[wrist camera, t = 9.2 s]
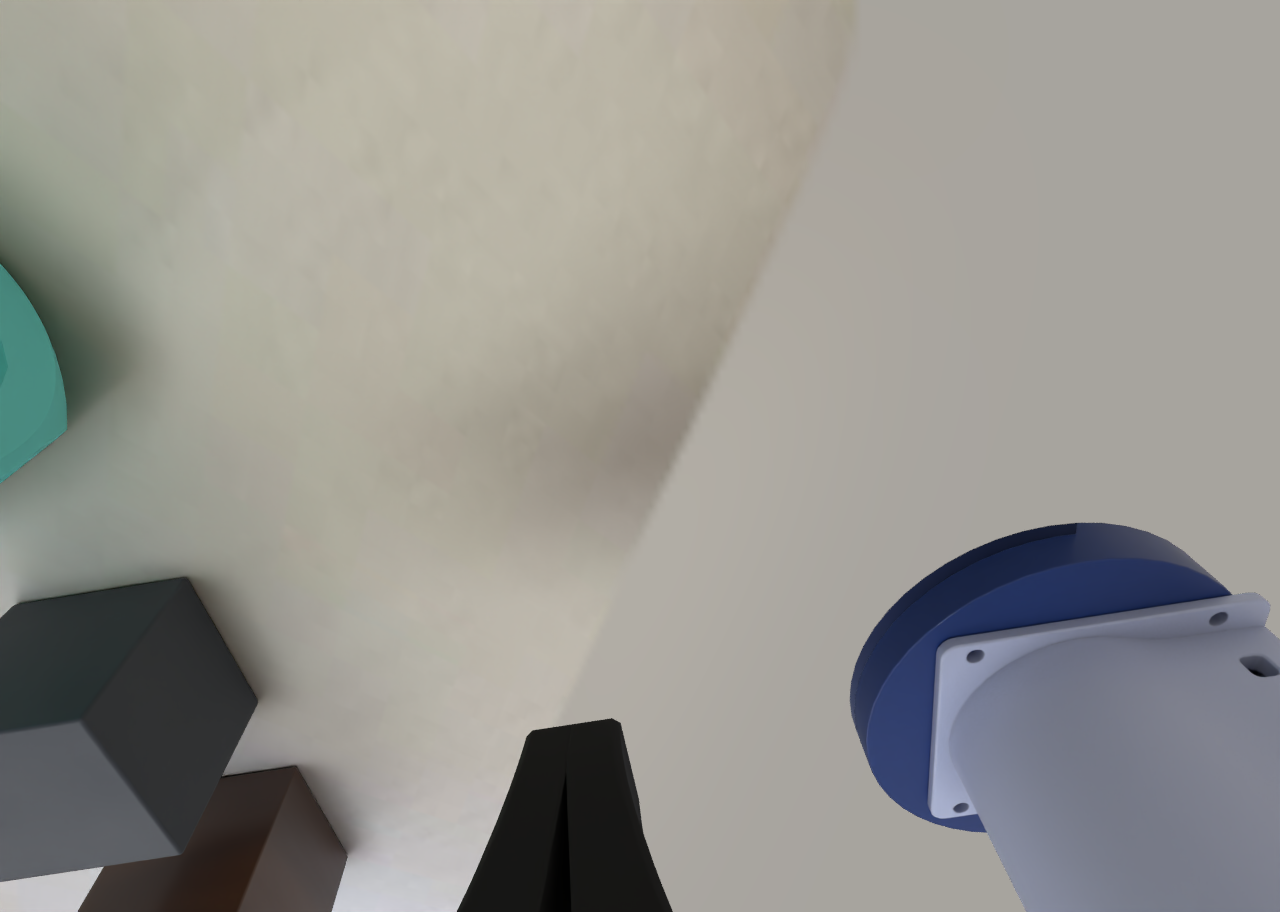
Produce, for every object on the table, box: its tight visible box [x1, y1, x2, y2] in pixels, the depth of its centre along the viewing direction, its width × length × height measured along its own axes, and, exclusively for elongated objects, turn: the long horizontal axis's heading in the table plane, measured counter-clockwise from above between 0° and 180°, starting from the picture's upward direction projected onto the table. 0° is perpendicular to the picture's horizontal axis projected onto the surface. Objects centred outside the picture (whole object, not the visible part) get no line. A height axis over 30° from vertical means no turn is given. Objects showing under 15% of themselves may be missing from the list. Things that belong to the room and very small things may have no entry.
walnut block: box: [78, 767, 348, 912], centre depth 24 cm, size 5×5×5 cm
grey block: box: [0, 578, 258, 882], centre depth 20 cm, size 5×5×5 cm
